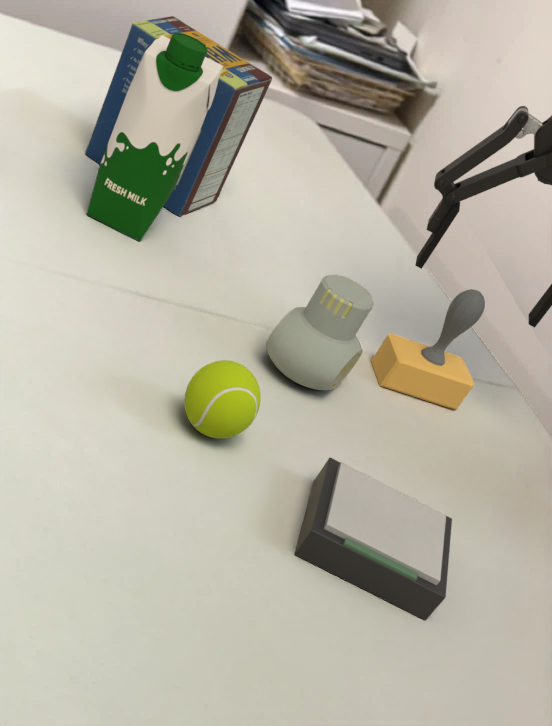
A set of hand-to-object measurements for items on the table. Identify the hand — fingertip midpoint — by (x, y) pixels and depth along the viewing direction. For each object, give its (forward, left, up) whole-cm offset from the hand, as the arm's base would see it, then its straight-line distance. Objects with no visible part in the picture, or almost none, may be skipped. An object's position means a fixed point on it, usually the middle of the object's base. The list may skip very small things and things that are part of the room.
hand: (475, 292), depth 117 cm
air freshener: (+13, +10, -12) cm, 20 cm away
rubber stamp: (0, 0, -12) cm, 12 cm away
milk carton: (+39, -5, -12) cm, 41 cm away
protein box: (+39, -20, -12) cm, 45 cm away
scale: (+2, +36, -12) cm, 38 cm away
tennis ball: (+20, +30, -12) cm, 38 cm away
